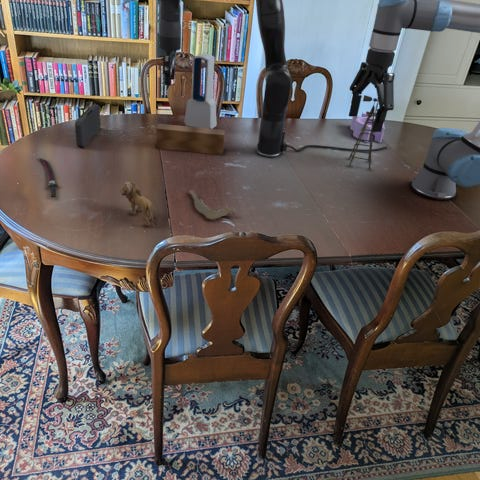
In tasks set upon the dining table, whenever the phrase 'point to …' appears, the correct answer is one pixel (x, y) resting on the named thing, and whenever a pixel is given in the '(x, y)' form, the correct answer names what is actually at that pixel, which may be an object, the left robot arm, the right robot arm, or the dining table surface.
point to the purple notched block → (358, 125)
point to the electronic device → (200, 107)
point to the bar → (190, 139)
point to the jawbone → (207, 211)
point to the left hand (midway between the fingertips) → (169, 82)
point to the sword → (52, 181)
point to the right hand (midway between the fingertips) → (364, 123)
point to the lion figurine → (137, 201)
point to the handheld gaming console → (87, 125)
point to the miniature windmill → (369, 114)
